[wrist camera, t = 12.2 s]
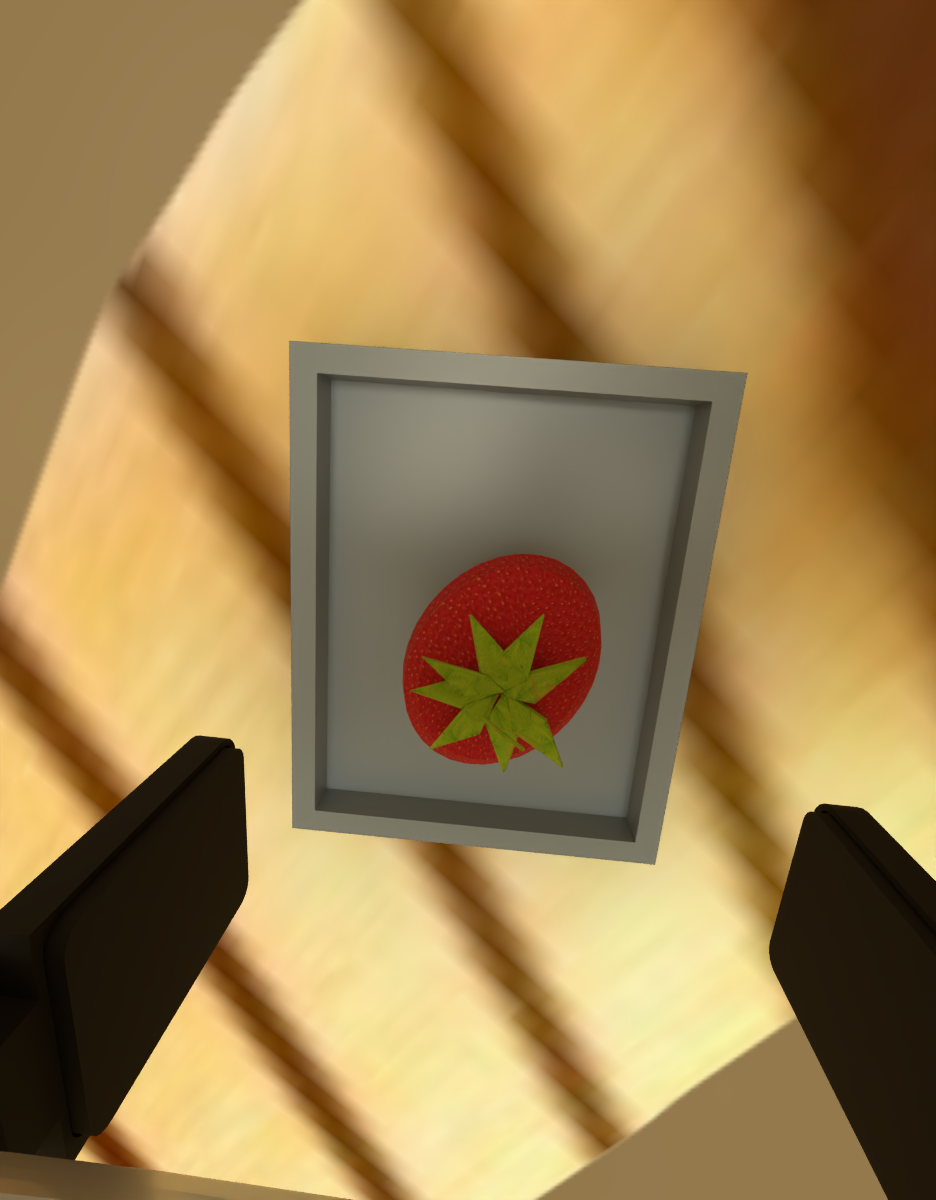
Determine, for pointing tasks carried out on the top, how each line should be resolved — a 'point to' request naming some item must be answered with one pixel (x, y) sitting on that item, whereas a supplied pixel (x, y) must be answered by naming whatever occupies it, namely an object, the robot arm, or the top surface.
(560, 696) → the strawberry
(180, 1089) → the top surface
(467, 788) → the tray
